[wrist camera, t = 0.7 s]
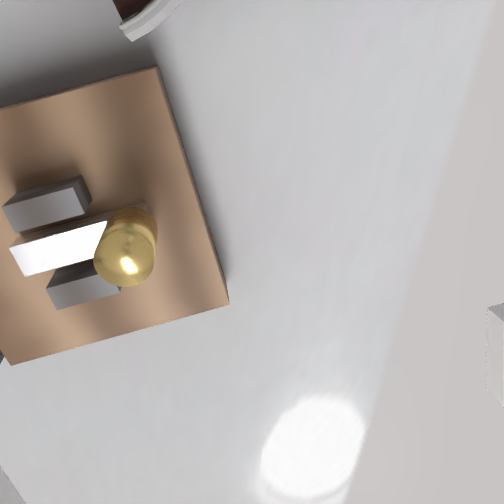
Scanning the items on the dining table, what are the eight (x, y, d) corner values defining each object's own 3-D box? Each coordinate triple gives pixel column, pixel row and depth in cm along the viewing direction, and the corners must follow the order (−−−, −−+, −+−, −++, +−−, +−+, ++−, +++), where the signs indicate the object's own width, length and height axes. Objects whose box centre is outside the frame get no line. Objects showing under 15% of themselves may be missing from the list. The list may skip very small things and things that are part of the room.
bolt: (150, 191, 27) (142, 227, 22) (166, 235, 29) (161, 278, 24) (14, 229, 27) (-25, 273, 22) (36, 271, 28) (4, 321, 23)
